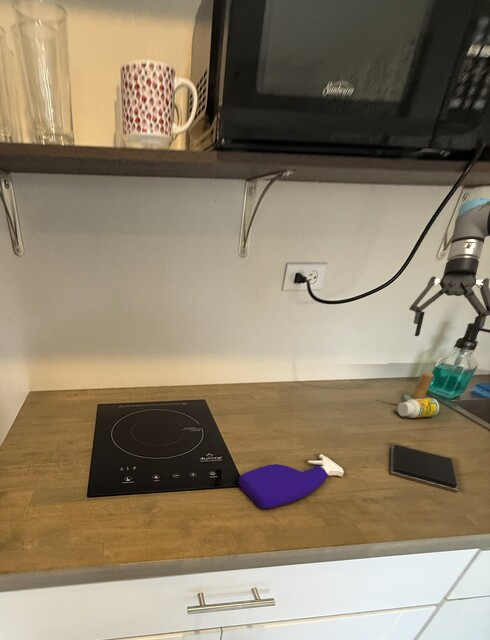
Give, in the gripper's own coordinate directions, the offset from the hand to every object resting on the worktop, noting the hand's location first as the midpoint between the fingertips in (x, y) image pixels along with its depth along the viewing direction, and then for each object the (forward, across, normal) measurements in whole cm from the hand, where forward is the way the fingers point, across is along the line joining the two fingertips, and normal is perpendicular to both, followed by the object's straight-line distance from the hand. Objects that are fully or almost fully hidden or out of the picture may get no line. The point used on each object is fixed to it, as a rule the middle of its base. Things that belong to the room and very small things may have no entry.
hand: (444, 337), depth 111 cm
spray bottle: (+42, -30, -46) cm, 69 cm away
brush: (+20, -3, +3) cm, 21 cm away
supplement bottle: (+20, +1, -2) cm, 20 cm away
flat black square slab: (+36, -4, -29) cm, 46 cm away
